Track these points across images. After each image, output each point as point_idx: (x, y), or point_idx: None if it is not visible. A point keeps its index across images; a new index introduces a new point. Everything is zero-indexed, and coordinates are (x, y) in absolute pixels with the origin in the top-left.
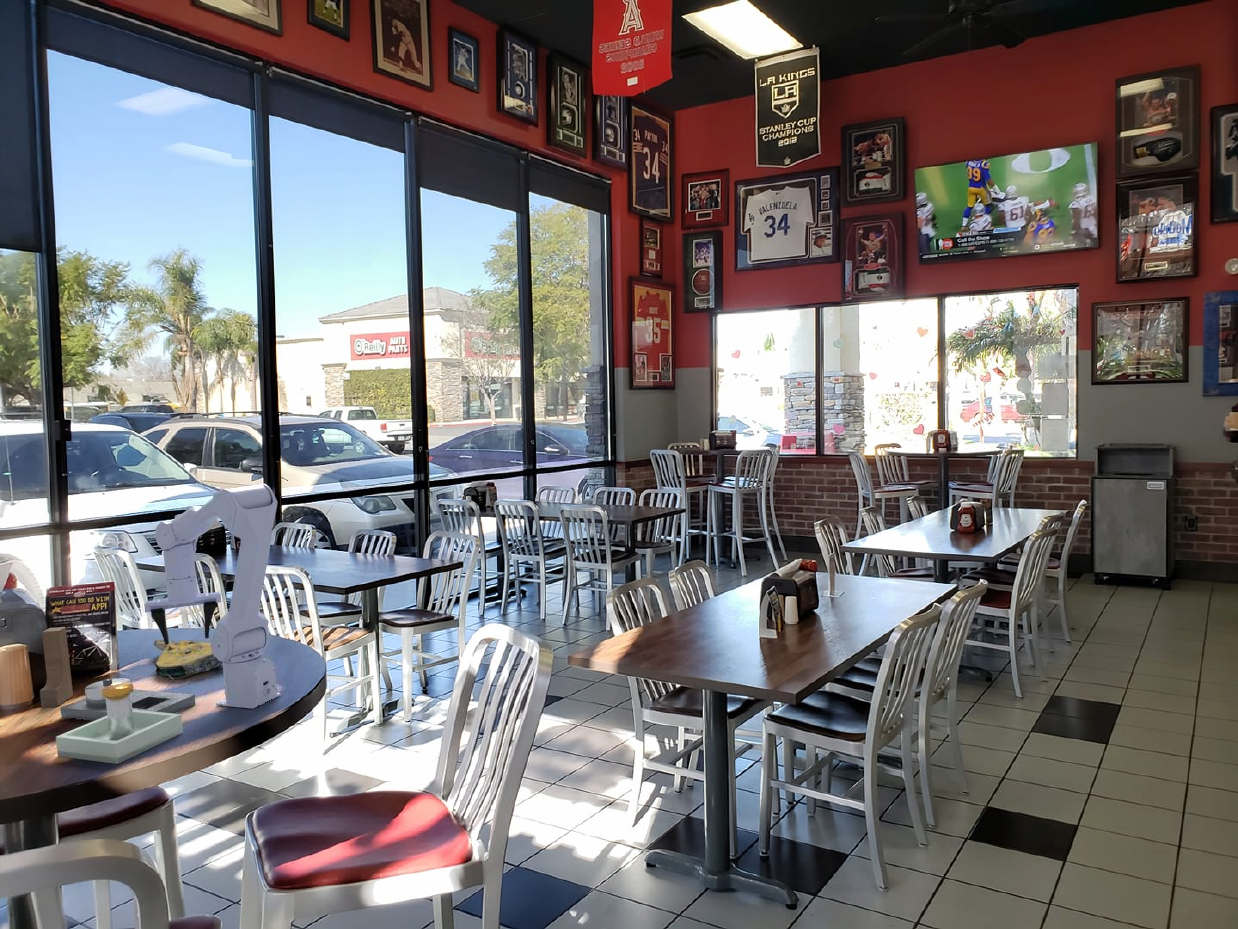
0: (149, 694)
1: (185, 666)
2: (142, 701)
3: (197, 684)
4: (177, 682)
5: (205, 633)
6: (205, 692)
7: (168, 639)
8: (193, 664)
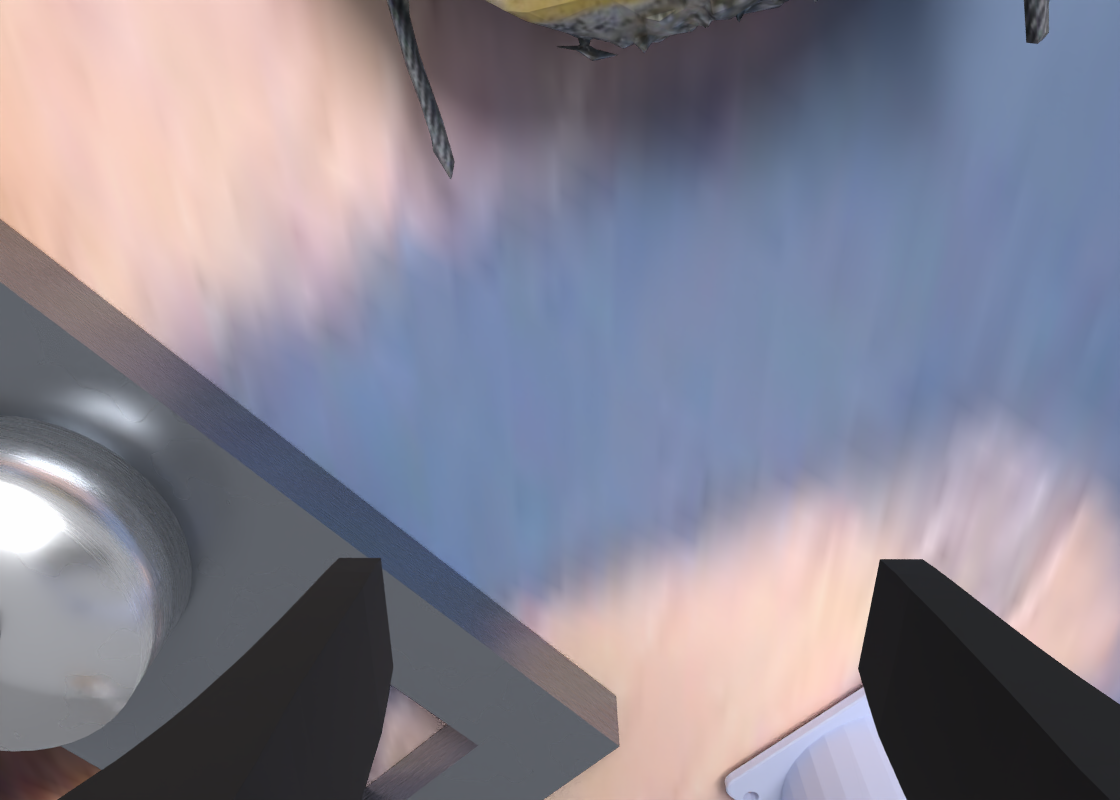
0: None
1: (559, 26)
2: None
3: (646, 257)
4: (479, 74)
5: (890, 747)
6: (689, 500)
7: (375, 635)
8: (645, 23)
